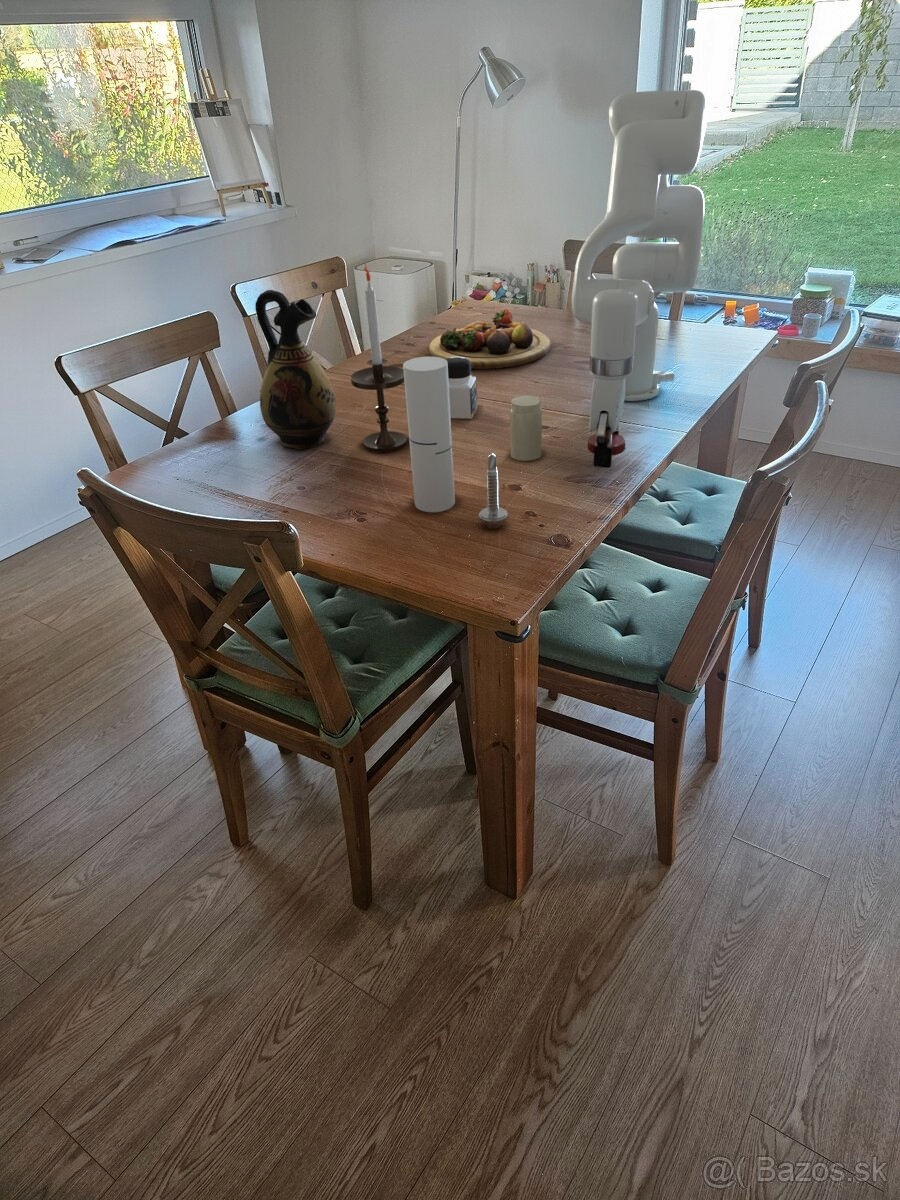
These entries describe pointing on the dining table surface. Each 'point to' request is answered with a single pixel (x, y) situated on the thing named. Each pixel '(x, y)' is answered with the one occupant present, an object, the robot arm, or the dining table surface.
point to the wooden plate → (492, 343)
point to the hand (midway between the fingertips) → (605, 457)
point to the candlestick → (378, 382)
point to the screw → (493, 498)
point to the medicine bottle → (461, 388)
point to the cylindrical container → (430, 432)
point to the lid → (616, 443)
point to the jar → (526, 428)
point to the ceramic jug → (293, 378)
